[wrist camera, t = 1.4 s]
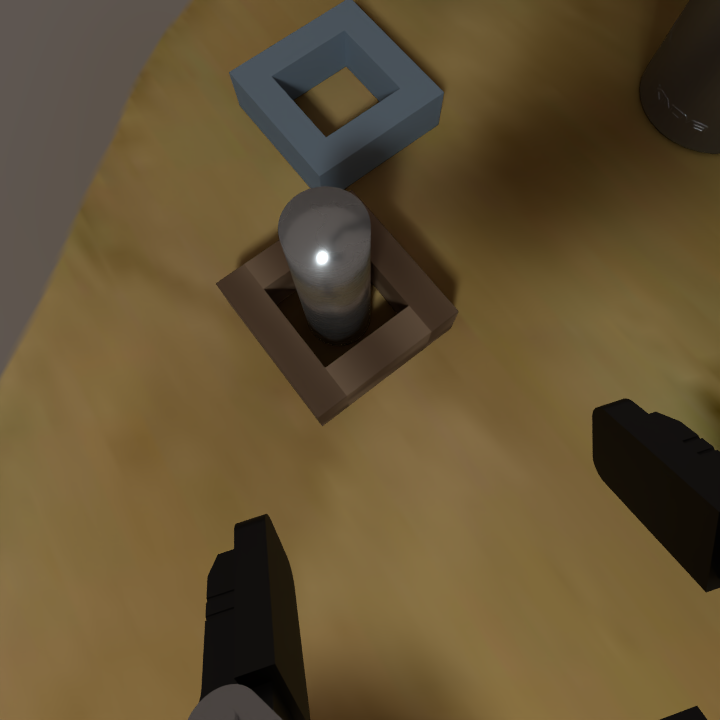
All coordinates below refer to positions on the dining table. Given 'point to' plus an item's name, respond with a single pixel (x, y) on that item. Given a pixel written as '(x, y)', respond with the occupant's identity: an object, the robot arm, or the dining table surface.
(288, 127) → the slate socket
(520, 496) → the dining table surface
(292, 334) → the walnut mount
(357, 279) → the steel pin
